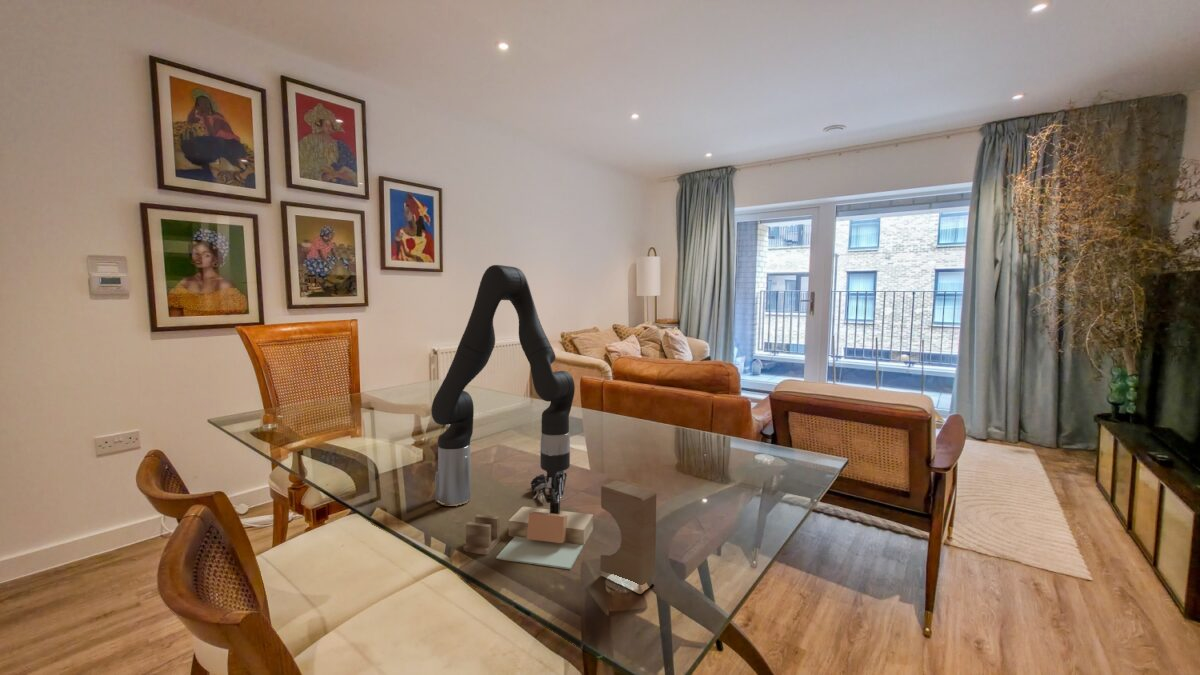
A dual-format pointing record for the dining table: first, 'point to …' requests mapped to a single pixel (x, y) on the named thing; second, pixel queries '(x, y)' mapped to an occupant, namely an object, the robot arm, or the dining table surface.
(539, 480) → the figurine
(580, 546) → the mat
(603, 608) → the dining table surface
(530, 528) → the tile
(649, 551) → the decorative block
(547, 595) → the dining table surface
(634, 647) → the dining table surface
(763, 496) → the dining table surface
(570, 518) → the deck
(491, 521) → the slotted rack
